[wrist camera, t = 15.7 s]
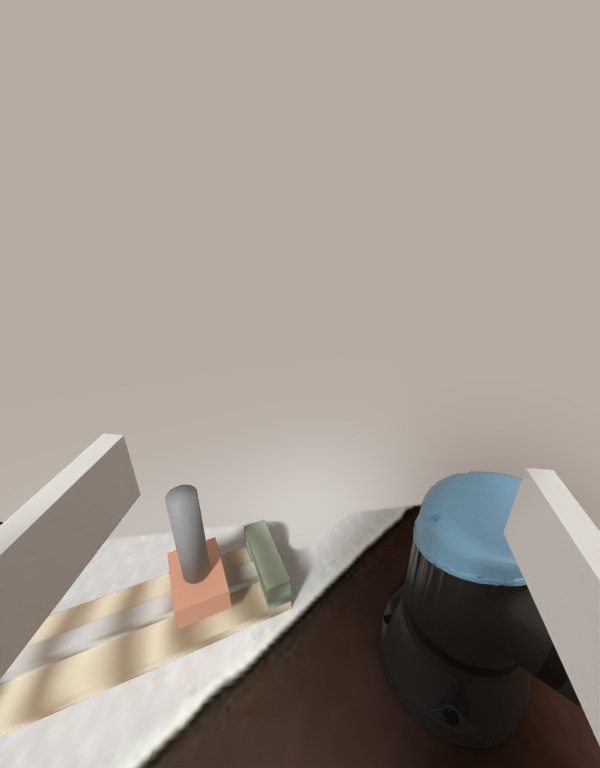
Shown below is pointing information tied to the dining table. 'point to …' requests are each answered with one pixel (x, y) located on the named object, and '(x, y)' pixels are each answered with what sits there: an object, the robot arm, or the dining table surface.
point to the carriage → (193, 562)
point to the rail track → (135, 634)
